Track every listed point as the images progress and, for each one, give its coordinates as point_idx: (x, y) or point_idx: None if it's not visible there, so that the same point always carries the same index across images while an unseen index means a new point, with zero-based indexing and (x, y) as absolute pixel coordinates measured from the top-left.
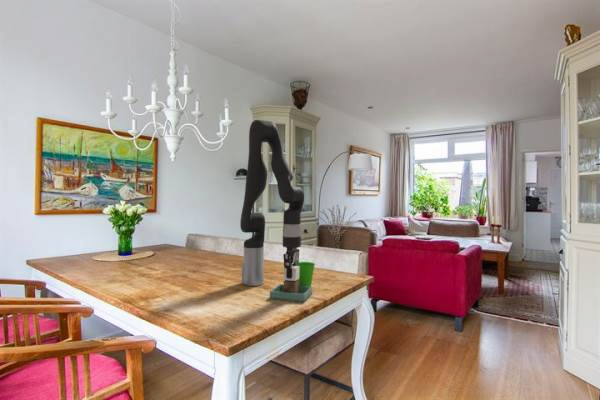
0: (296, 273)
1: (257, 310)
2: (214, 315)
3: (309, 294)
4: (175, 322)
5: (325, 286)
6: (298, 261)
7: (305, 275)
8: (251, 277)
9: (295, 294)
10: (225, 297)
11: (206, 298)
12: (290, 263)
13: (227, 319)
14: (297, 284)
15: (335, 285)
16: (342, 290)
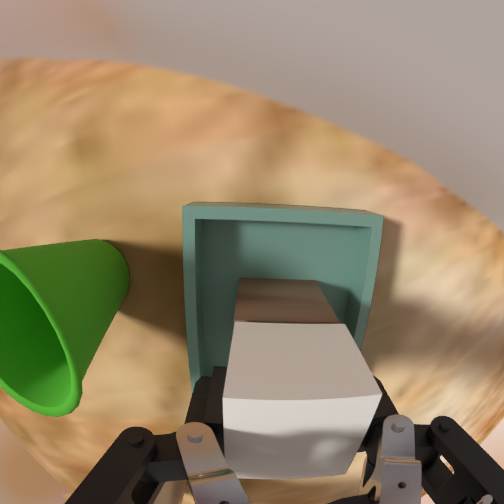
0: (341, 358)
1: (456, 360)
2: (467, 421)
3: (256, 204)
4: (481, 441)
5: (39, 169)
6: (134, 442)
7: (94, 293)
8: (179, 494)
9: (374, 275)
10: (333, 479)
11: (345, 496)
12: (459, 450)
13: (494, 385)
14: (277, 306)
15: (20, 128)
16: (86, 62)
